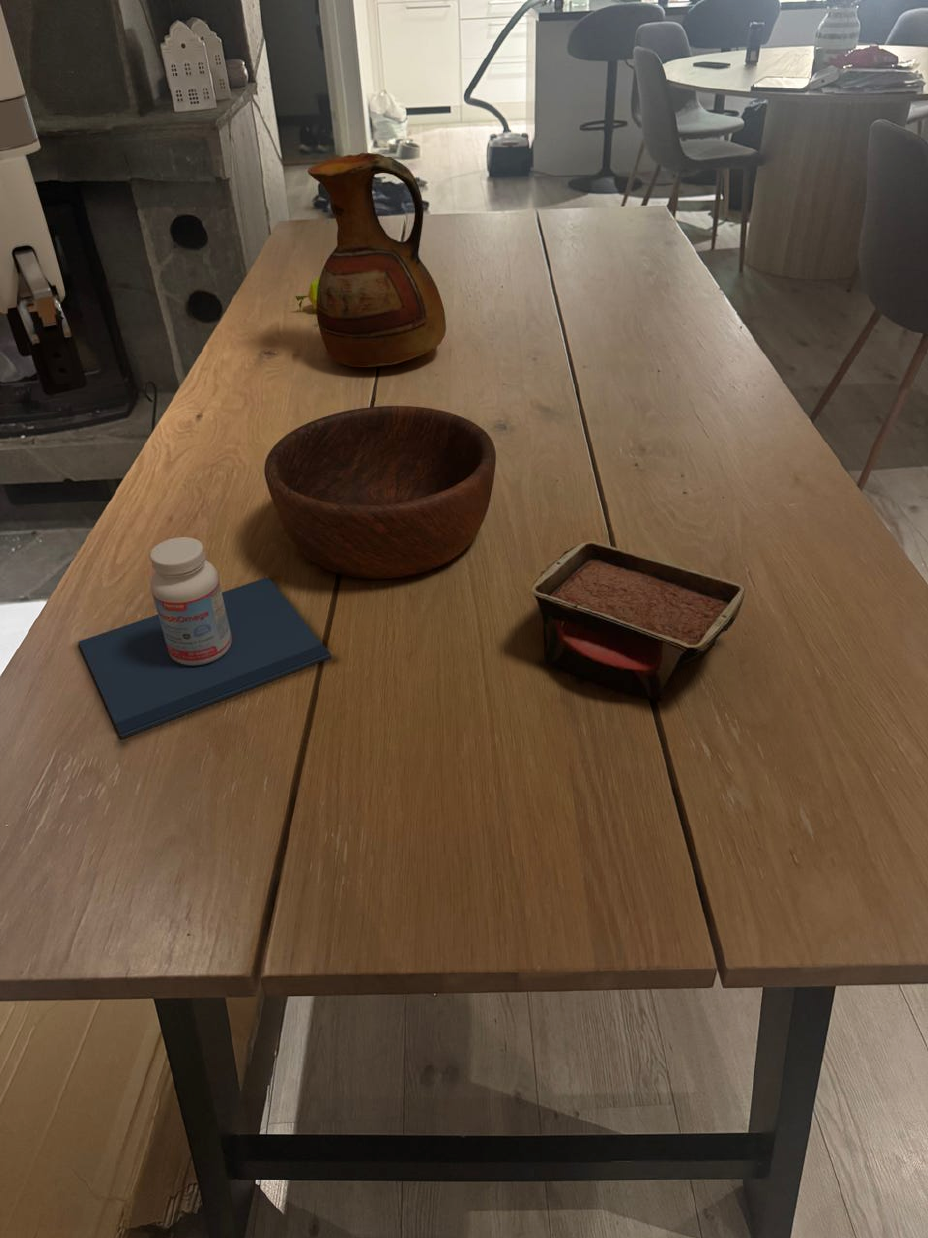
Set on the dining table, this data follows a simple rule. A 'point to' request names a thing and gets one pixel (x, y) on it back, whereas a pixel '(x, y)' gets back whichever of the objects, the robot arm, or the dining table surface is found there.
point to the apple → (311, 294)
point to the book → (164, 689)
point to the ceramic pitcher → (374, 272)
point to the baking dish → (629, 616)
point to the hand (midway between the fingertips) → (52, 370)
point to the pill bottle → (189, 602)
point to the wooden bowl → (382, 489)
